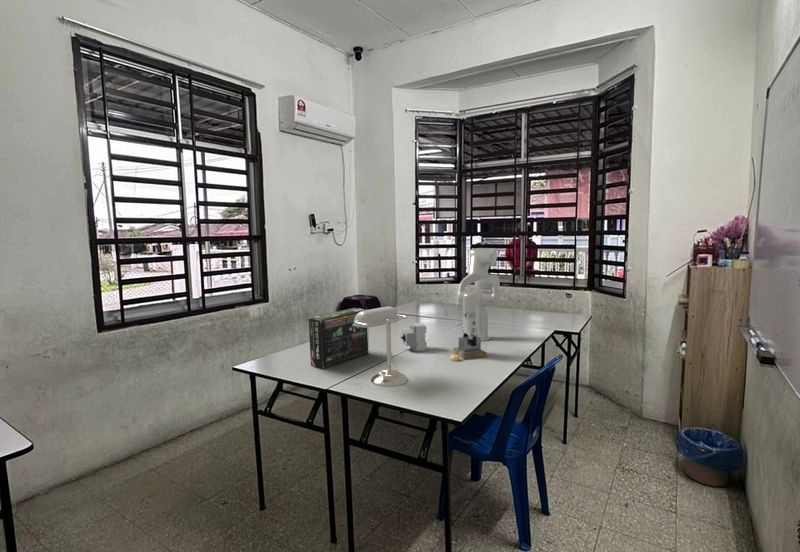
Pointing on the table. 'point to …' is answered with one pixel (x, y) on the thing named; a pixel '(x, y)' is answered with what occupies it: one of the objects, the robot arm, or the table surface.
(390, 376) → the lamp
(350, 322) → the router box
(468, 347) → the block
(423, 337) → the circuit breaker
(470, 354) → the green board with frame
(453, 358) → the cream dome
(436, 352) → the table surface
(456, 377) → the table surface
